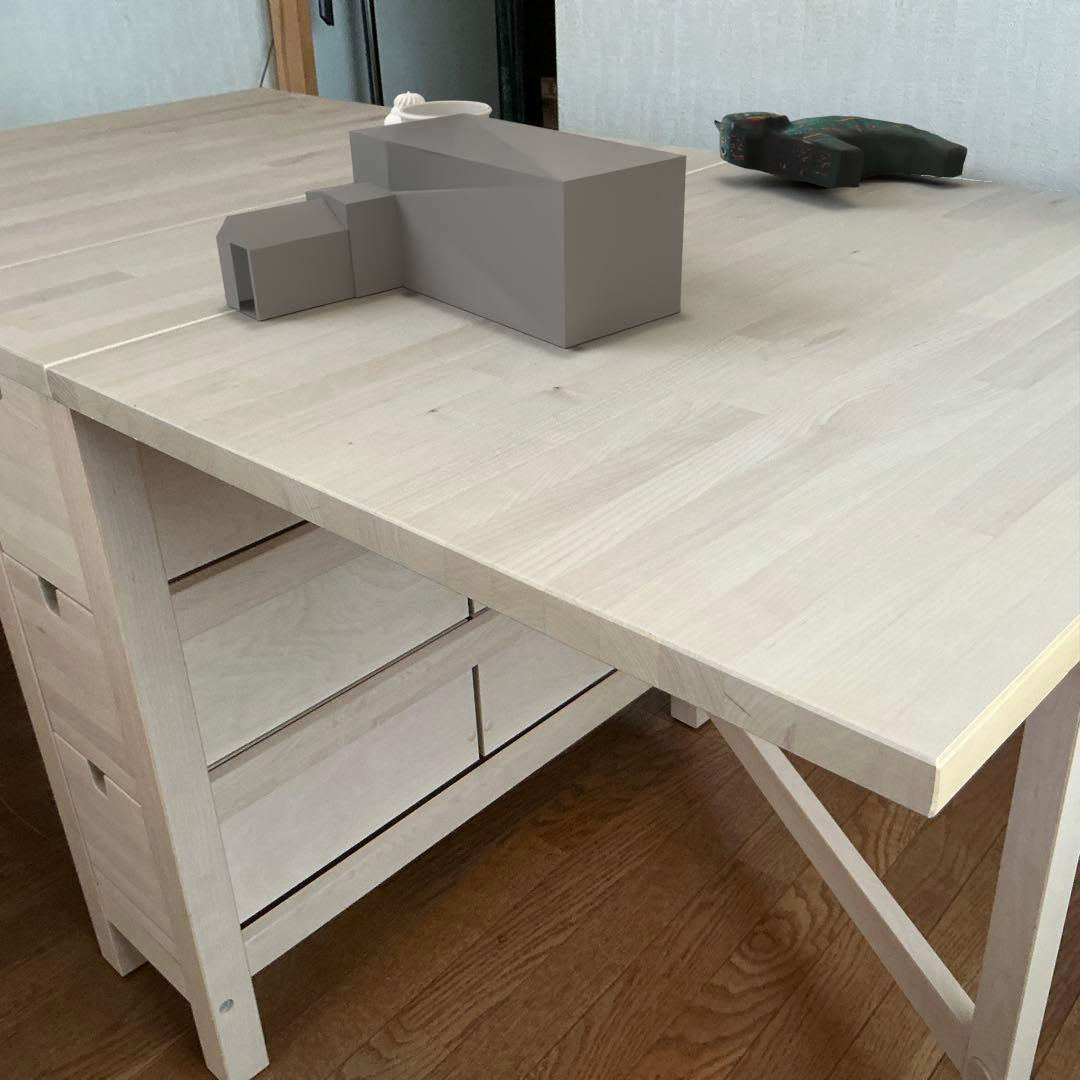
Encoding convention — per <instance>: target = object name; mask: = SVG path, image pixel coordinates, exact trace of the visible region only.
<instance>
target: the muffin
mask: <svg viewBox="0 0 1080 1080" xmlns="http://www.w3.org/2000/svg"><path fill="white" fill-rule="evenodd" d="M424 102H426V100H425V98H424V97H423V96H422V95H421V94H419V93H417V92H415V93H414V92H410V91H409V90H407V92H405V93H400V94H398V95H397V96H396V97H395V99H394V100H393V106H392V108H391V110H390V113H388V115H387V116H386V117H385V119H384V121H383V126H385V125H391V124H397V123H402V122H401V117H399V116H398V111H399V110H400V109H401V108H402V107H404V106H407V105H411V104H417V103H424Z"/></svg>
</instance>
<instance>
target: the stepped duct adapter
mask: <svg viewBox="0 0 1080 1080" xmlns="http://www.w3.org/2000/svg"><path fill="white" fill-rule="evenodd" d="M348 135H349V145H350V155H351V165H352V166H351V167H352V176H353V182H349V183H345V184H339V185H334V186H328V187H323V188H317V189H311V190H307V191H305V192H304V193H305V200H304V201H298V202H293V203H287V204H282V205H278V206H273V207H268V208H262V209H256V210H252V211H246V212H242V213H241V212H240V213H237V214H231V215H227V216H226V217H225V218H224V221H223V223H222V225H221V226H220V228H219V230H218V232H217V234H216V235H215V240H216V246H217V252H218V258H219V264H220V265H219V266H220V271H221V278H222V283H223V289H224V296H225V302H226V306H228V307H230V308H232V309H235V310H237V311H238V312H241V313H243V314H245V315H247V316H249V317H251V318H253V319H255V320H256V321H259V322H261V321H264V320H269V319H272V318H276V317H280V316H284V315H289V314H292V313H297V312H300V311H303V310H304V311H305V310H308V309H313V308H316V307H320V306H324V305H329V304H332V303H336V302H341V301H344V300H348V299H351V298H356V299H358V298H361V297H365V296H370V295H373V294H377V293H381V292H385V291H389V290H393V289H397V288H401V287H404V288H405V289H406V288H407V289H409V290H411V291H414V292H416V293H419V294H422V295H425V296H427V297H430V298H432V299H435V300H438V301H440V302H443V303H446V304H448V305H450V306H453V307H455V308H459V309H461V310H464V311H466V312H469V313H472V314H474V315H477V316H479V317H482V318H484V319H487V320H490V321H492V322H495V323H497V324H500V325H503V326H505V327H508V328H511V329H514V330H516V331H519V332H520V333H521V332H522V333H524V334H527V335H528V336H531V337H535V338H536V339H540V340H542V341H544V342H548V343H550V344H553V345H555V346H558V347H559V348H560V347H561V348H563V349H567V348H570V347H571V348H572V347H574V346H577V345H580V344H584V343H587V342H590V341H593V340H596V339H599V338H602V337H605V336H609V335H611V334H615V333H618V332H621V331H624V330H627V329H630V328H631V329H632V328H634V327H638V326H639V325H643V324H646V323H649V322H652V321H657V320H659V319H661V318H665V317H668V316H671V315H674V314H677V313H680V312H681V303H682V301H681V300H682V276H683V253H684V252H683V251H684V250H683V249H684V227H685V226H684V225H685V223H684V222H685V201H686V200H685V198H686V177H687V174H686V173H687V155H686V154H679V153H675V152H669V151H664V150H661V149H653V148H648V147H645V146H644V147H643V146H638V145H633V144H628V143H623V142H618V141H612V140H607V139H602V138H597V137H591V136H587V135H581V134H576V133H570V132H565V131H561V130H554V129H550V128H546V127H539V126H534V125H529V124H523V123H518V122H514V121H509V120H503V119H498V118H492V117H489V118H488V117H483V116H478V115H472V114H467V113H460V114H454V115H448V116H441V117H435V118H429V119H422V120H416V121H410V122H404V123H397V124H391V125H385V126H384V125H379V126H374V127H367V128H361V129H360V128H359V129H354V130H348Z"/></svg>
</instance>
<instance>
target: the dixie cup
mask: <svg viewBox="0 0 1080 1080" xmlns="http://www.w3.org/2000/svg"><path fill="white" fill-rule="evenodd" d="M492 111H493V109H492V107H491V106H490V105H489V104H487V103H485V102H481V101H473V100H472V101H471V100H436V101H435V100H433V101H425V102H424V103H417V104H411V105H407V106H404V107H402V108H401V109H400V110H399V111H398V116H399V117H401V122H402V123H404V122H410V121H416V120H422V119H429V118H435V117H441V116H448V115H454V114H460V113H467V114H472V115H478V116H483V117H488V118H490V114H491V113H492Z"/></svg>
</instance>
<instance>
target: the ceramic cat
mask: <svg viewBox="0 0 1080 1080" xmlns="http://www.w3.org/2000/svg"><path fill="white" fill-rule="evenodd" d="M713 124H714V125H715V127H716V128H717V130H718V132H719V156H720V158H721V160H723V161H724V162H727V163H728V164H731V165H733V166H736V167H739V168H741V169H744V170H745V169H746V170H751V171H752V170H753V171H757V172H761V173H764V174H765V173H766V174H769V175H771V176H772V175H773V176H774V177H775V176H776V177H779V178H782V179H783V180H787V181H795V182H805V183H807V184H811V185H815V186H819V187H823V188H829V189H842V188H852V189H853V188H859V187H860V181H861V180H865V179H867V178H869V177H873V176H879V175H880V176H881V175H882V176H886V175H887V176H888V175H889V176H890V175H901V176H903V175H904V176H926V177H927V176H930V177H933V178H940V179H941V178H949V179H953V178H956V177H960V176H962V175H963V170H964V165H965V162H966V158H967V155H968V148H967V146H964V145H962V144H959V143H956V142H953V141H950V140H948V139H946V138H944V137H942V136H940V135H939V134H936V133H933V132H930V131H928V130H925V129H921V128H918V127H916V126H913V125H910V124H907V123H899V122H894V121H888V120H881V119H876V118H867V117H864V116H863V117H861V116H855V115H845V116H844V115H826V116H825V115H824V116H815V117H805V118H800V119H795V120H790V119H789V117H788V116H787V115H786V114H777V113H774V112H767V111H745V112H734V113H729V114H728V113H727V114H725V115H724V116H723V117H722V119H721V121H719V120H716V119H714V121H713Z"/></svg>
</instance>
